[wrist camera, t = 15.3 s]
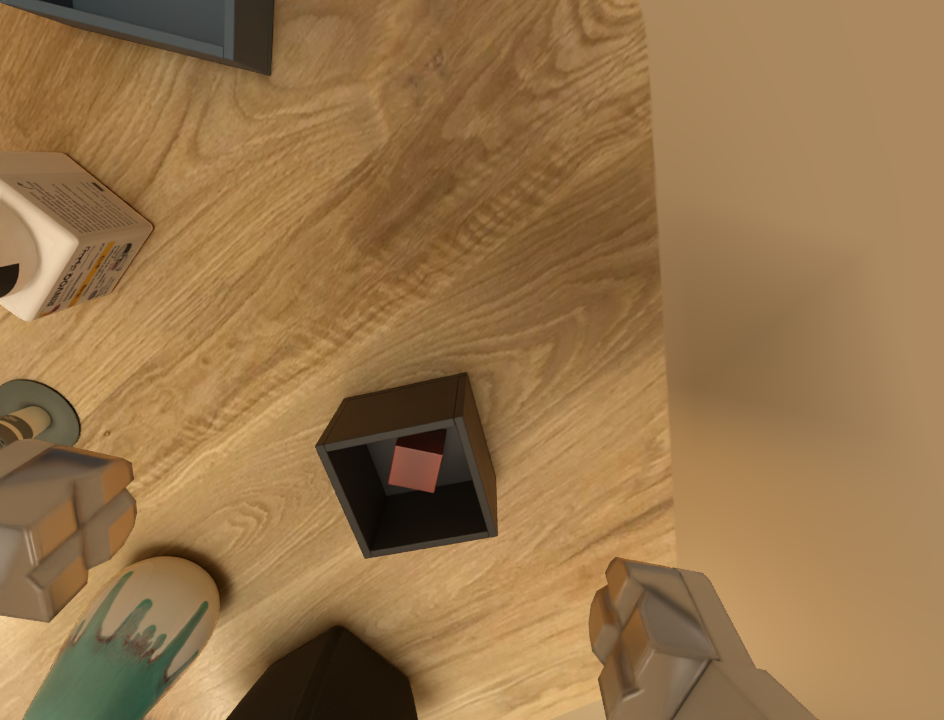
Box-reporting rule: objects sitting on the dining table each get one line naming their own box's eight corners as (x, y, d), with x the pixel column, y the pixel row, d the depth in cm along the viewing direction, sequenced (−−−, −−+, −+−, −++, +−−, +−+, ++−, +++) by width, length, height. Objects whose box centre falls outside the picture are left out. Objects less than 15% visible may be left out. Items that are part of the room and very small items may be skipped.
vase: (188, 525, 48) (30, 717, 31) (255, 599, 52) (147, 804, 35) (104, 560, 50) (-84, 757, 33) (175, 628, 54) (38, 834, 37)
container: (110, 295, 38) (-61, 355, 26) (20, 227, 36) (-210, 259, 24) (157, 226, 36) (-8, 257, 24) (63, 150, 34) (-168, 142, 22)
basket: (467, 372, 40) (463, 416, 33) (496, 477, 44) (498, 536, 37) (343, 398, 41) (314, 446, 34) (383, 498, 46) (364, 559, 39)
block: (446, 429, 42) (443, 455, 38) (438, 465, 43) (433, 493, 39) (403, 420, 41) (395, 445, 38) (396, 456, 43) (387, 484, 39)
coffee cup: (14, 474, 46) (-38, 508, 41) (-56, 363, 41) (-123, 388, 36) (127, 462, 45) (86, 496, 40) (69, 348, 40) (15, 371, 36)
